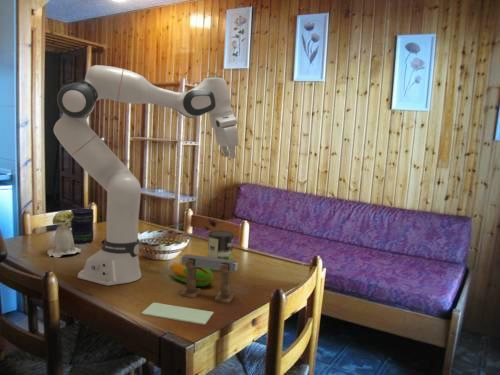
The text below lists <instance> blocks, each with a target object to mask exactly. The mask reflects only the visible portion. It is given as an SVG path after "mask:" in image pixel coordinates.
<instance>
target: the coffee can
mask: <svg viewBox="0 0 500 375" xmlns="http://www.w3.org/2000/svg"><path fill="white" fill-rule="evenodd" d="M207 235H208V240H207V241H208V242H207V257H212V258H220V259H227V260H233V249H234V247H233V245H234V237H235V236H234V235H235V234H234V233H233V232H231V231H228V230H222V229H221V230H220V229H219V230H210V231H209V232H208V234H207ZM211 271H215V270H214V269H211ZM217 271H220V270H217Z"/></svg>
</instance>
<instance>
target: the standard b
mask: <svg viewBox="0 0 500 375" xmlns="http://www.w3.org/2000/svg"><path fill="white" fill-rule="evenodd" d="M220 273H221V276H220V278H221V279H220V291H219V292H218V294H217V295H216V296H215V298H214V301H215V302H222V303H228V304H230V303H231V301H232V300H233V299H234V297H235V293H231V292H230V287H231V272H228V265H225V264H221V266H220Z"/></svg>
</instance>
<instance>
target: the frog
mask: <svg viewBox="0 0 500 375" xmlns="http://www.w3.org/2000/svg"><path fill="white" fill-rule="evenodd" d="M73 217H74V214H73V212H71V210H70V211H69V210H61V211H59V212H57V213H55V215H54V216H53V217H52V225H56V226H57V228H56V229H55V233H54V236H53V239H52V244H53V245H54V246H55V247H54V248H49V247H48V250H47V255H48V257H50V256H53V258H55V257H58V258H60V257H62V256H64V255H72V254H73V255H75V254H76V253H82V251H81V250H82V248H78V247H75V244H74V241H73V236H72V232H71V230H72V228H71V227H72V223H71V220H72V219H73Z"/></svg>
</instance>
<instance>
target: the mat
mask: <svg viewBox="0 0 500 375" xmlns="http://www.w3.org/2000/svg"><path fill="white" fill-rule="evenodd" d="M141 315H145V316H149V317H156V318H162V319H167V320H175V321H180V322H186V323H190V324H192V323H193V324H198V325H206V324H207V323H208V321H210V319H211V317H212V316H213V315H214V311H208V310H203V309H197V308H190V307H184V306H177V305H173V304H172V305H171V304H166V303H165V304H164V303H160V302H152V303H151V304H150V305H149V306H147V308H145V309H144V310H143V311H142V312H141Z"/></svg>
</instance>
